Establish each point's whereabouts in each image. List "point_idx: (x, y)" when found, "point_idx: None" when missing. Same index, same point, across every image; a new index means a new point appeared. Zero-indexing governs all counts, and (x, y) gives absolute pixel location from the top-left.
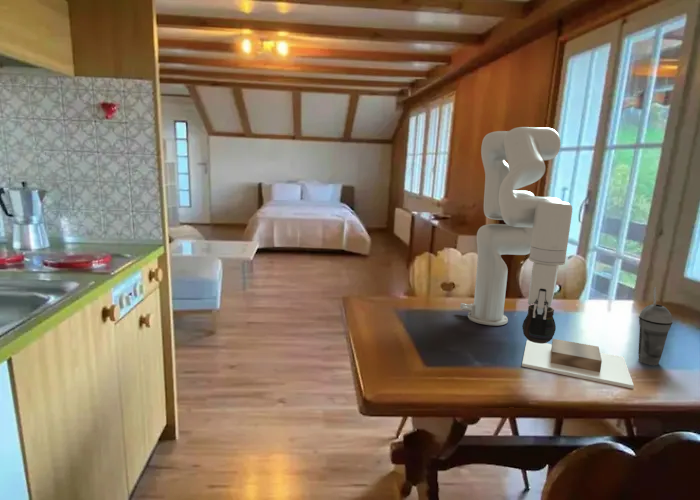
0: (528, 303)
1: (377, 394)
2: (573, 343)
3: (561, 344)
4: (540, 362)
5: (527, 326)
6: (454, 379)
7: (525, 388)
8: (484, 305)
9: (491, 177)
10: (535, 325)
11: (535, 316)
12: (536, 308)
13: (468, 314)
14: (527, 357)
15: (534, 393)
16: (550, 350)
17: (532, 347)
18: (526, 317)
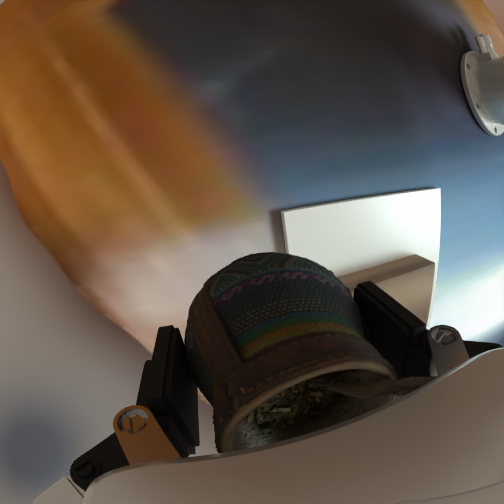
0: (104, 474)
1: None
2: (423, 311)
3: (409, 293)
4: (322, 254)
5: (196, 314)
6: (68, 91)
7: (136, 260)
8: (499, 77)
9: None
10: (142, 387)
11: (110, 435)
12: (348, 385)
13: (473, 51)
14: (337, 214)
15: (126, 286)
16: (407, 254)
17: (406, 210)
18: (262, 310)
